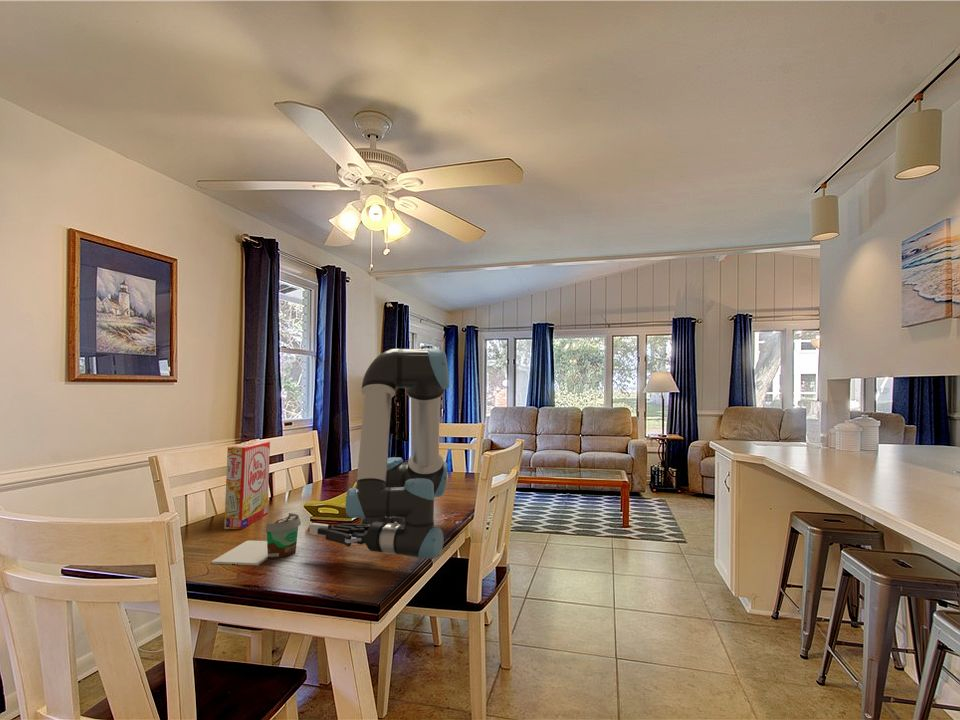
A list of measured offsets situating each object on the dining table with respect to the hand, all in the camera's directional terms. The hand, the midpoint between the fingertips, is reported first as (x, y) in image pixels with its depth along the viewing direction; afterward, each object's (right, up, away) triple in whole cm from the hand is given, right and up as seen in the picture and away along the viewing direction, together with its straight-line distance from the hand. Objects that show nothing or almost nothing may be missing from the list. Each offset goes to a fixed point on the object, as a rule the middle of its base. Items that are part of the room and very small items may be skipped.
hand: (311, 528), depth 139 cm
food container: (-8, -8, +2) cm, 12 cm away
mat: (-18, -8, +3) cm, 20 cm away
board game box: (-35, -10, +36) cm, 50 cm away
